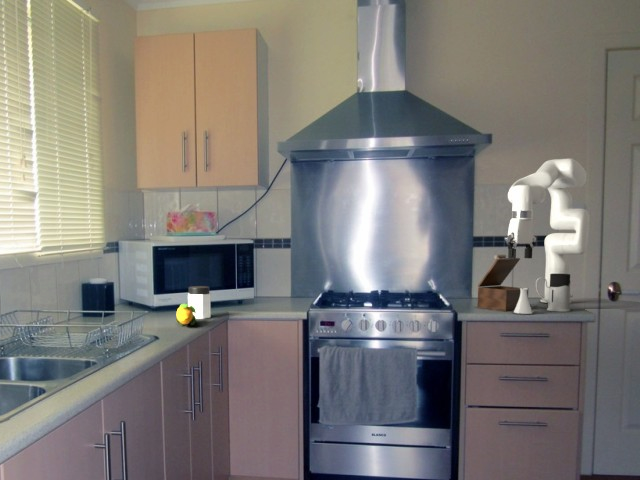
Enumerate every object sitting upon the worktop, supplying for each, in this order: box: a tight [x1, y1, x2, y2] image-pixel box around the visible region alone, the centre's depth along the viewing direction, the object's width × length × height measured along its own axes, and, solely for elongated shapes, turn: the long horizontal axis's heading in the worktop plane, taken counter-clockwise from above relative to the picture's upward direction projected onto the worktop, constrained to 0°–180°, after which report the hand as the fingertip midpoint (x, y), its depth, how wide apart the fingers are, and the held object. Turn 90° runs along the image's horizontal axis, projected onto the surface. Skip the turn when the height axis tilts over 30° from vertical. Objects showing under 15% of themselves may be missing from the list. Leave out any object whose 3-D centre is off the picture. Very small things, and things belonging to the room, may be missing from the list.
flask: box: [513, 287, 533, 315], centre depth 263 cm, size 7×7×10 cm
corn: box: [175, 303, 197, 326], centre depth 237 cm, size 7×8×20 cm
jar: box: [187, 285, 212, 320], centre depth 257 cm, size 9×8×12 cm
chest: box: [477, 285, 529, 312], centre depth 279 cm, size 15×14×9 cm
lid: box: [477, 254, 521, 288], centre depth 281 cm, size 16×14×5 cm
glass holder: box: [535, 273, 571, 313], centre depth 272 cm, size 9×14×15 cm, turn 89°
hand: (520, 258), depth 266 cm, fingers open, 9 cm apart
